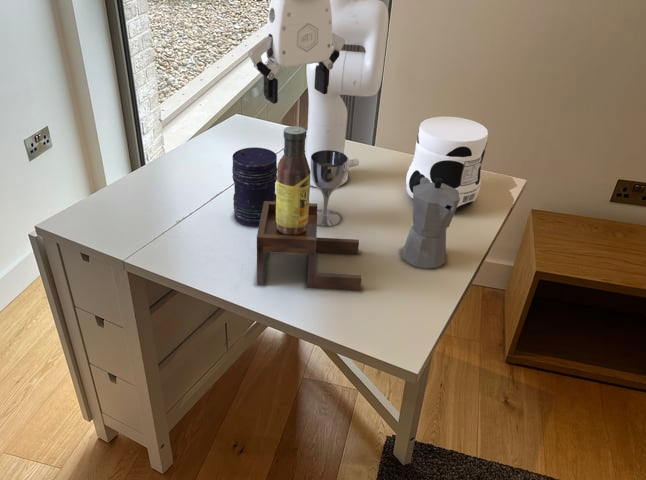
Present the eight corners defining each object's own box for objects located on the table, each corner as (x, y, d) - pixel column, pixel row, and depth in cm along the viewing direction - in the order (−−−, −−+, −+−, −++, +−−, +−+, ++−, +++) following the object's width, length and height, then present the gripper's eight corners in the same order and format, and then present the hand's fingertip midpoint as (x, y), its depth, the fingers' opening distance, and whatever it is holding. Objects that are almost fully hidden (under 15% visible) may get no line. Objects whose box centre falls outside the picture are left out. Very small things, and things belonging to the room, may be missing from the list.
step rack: (357, 251, 124) (362, 205, 118) (359, 290, 113) (365, 242, 107) (263, 246, 126) (263, 200, 119) (257, 285, 115) (256, 237, 108)
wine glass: (345, 213, 138) (351, 153, 129) (337, 229, 132) (342, 168, 123) (312, 207, 140) (316, 148, 131) (303, 223, 134) (306, 162, 125)
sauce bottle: (304, 238, 111) (309, 139, 99) (272, 235, 112) (273, 136, 100) (310, 221, 116) (315, 125, 105) (279, 218, 117) (281, 122, 106)
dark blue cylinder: (283, 211, 138) (284, 152, 129) (265, 231, 131) (265, 169, 122) (245, 203, 141) (244, 144, 132) (226, 221, 134) (223, 160, 125)
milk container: (409, 178, 152) (421, 110, 142) (478, 189, 148) (495, 120, 137) (397, 209, 139) (409, 136, 129) (472, 222, 135) (491, 148, 124)
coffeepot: (458, 271, 119) (478, 192, 108) (415, 277, 117) (431, 197, 106) (426, 233, 131) (440, 157, 120) (386, 237, 129) (397, 161, 118)
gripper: (260, -6, 83) (261, 112, 93) (361, -17, 89) (351, 95, 100) (237, -15, 88) (240, 97, 99) (334, -25, 95) (327, 82, 105)
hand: (296, 96), depth 99 cm, fingers open, 9 cm apart
